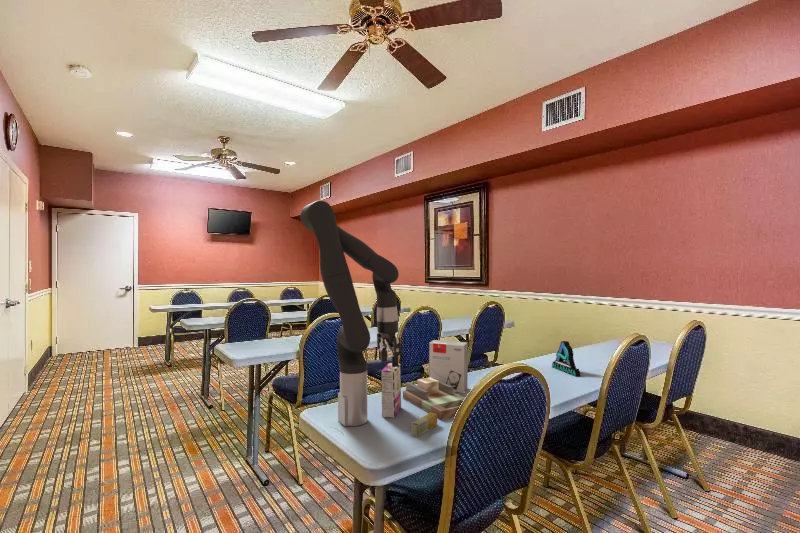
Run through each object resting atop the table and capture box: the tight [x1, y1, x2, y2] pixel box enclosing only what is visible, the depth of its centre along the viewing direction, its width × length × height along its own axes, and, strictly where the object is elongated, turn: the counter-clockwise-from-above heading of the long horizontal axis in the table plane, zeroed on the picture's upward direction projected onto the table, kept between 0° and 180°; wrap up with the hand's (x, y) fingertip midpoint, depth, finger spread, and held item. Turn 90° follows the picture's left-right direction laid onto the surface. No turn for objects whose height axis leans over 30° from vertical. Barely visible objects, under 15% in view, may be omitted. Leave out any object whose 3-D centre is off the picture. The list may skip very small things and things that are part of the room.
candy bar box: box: [380, 362, 402, 419], centre depth 144 cm, size 11×5×16 cm, turn 168°
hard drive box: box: [428, 339, 469, 394], centre depth 171 cm, size 16×8×20 cm, turn 68°
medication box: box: [410, 412, 438, 438], centre depth 129 cm, size 12×3×4 cm, turn 144°
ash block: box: [416, 377, 439, 394], centre depth 158 cm, size 6×6×4 cm
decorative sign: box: [551, 340, 582, 378], centre depth 197 cm, size 19×2×15 cm, turn 14°
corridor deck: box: [402, 378, 466, 421], centre depth 152 cm, size 16×26×6 cm, turn 29°
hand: (389, 364), depth 143 cm, fingers open, 8 cm apart
